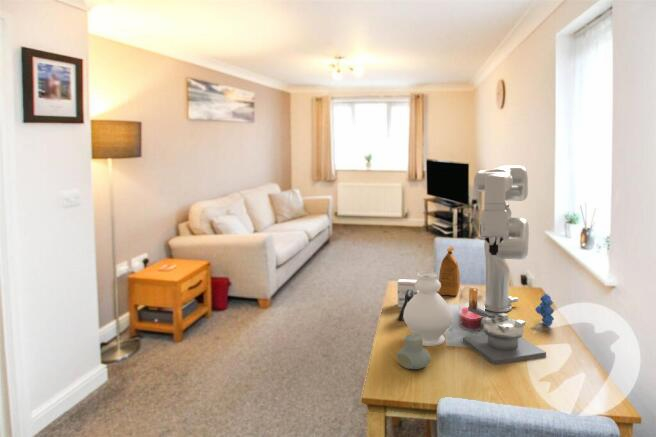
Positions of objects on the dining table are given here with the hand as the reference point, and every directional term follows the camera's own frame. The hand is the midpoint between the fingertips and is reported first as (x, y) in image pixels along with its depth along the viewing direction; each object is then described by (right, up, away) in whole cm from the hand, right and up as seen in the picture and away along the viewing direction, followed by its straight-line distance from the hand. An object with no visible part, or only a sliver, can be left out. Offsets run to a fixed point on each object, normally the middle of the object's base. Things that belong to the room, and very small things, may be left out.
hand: (493, 254), depth 190 cm
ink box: (-28, -25, +31) cm, 49 cm away
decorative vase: (-26, -31, -5) cm, 41 cm away
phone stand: (-30, -28, +15) cm, 44 cm away
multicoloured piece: (-4, -25, -12) cm, 28 cm away
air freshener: (-35, -35, -26) cm, 56 cm away
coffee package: (-5, -22, +47) cm, 52 cm away
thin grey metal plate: (-2, -32, -15) cm, 36 cm away
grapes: (+22, -28, +5) cm, 36 cm away
